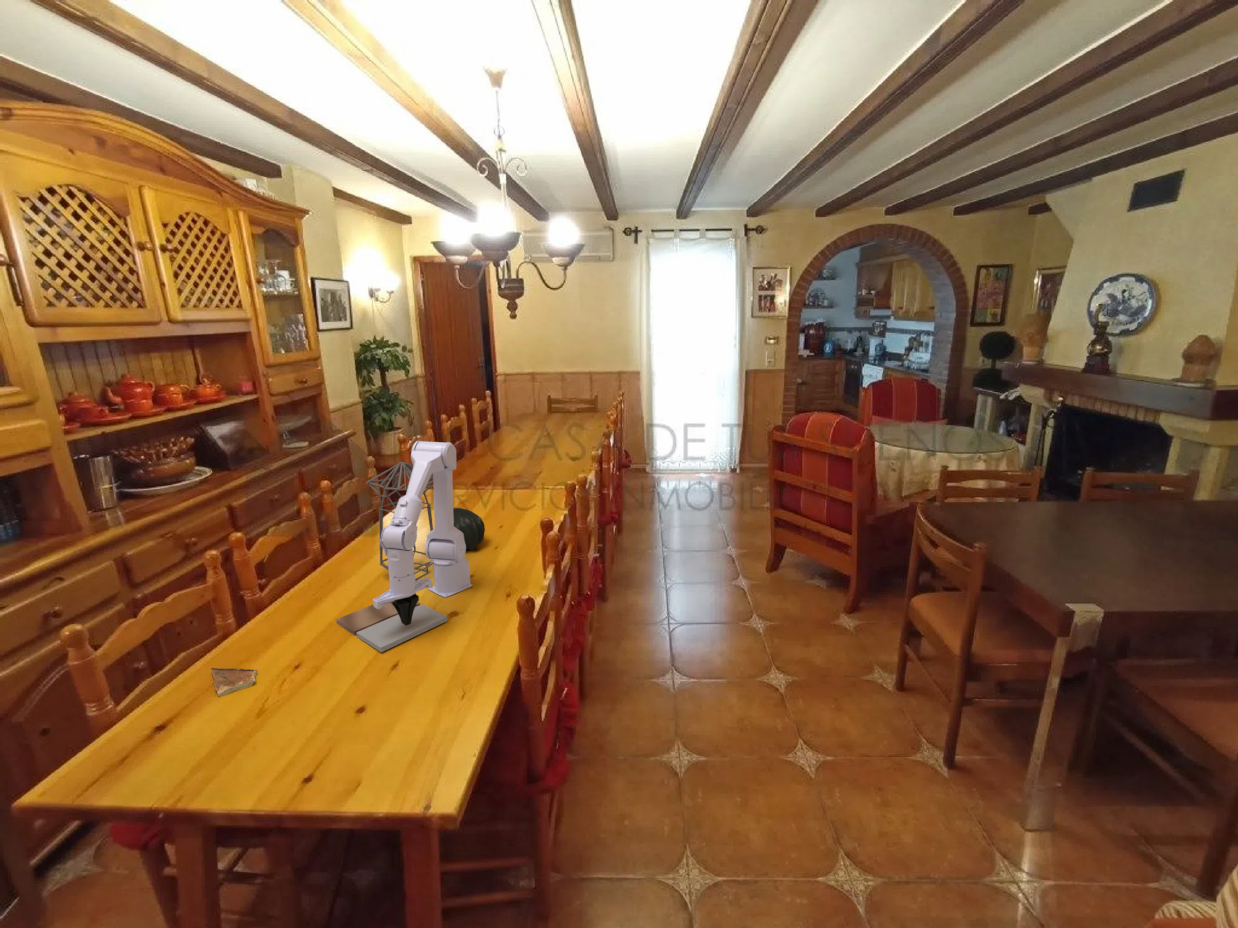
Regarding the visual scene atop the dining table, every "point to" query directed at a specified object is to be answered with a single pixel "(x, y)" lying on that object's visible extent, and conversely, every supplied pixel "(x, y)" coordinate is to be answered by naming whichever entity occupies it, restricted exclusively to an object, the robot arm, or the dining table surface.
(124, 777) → the dining table surface
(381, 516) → the geometric lantern
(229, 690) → the shard
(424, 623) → the grey plank
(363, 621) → the walnut board
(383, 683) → the dining table surface
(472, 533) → the squash
